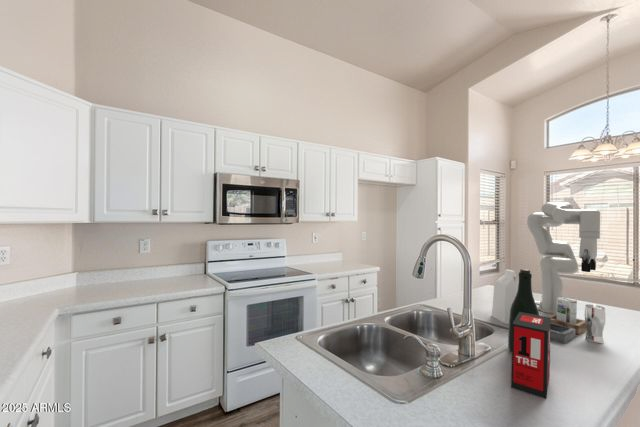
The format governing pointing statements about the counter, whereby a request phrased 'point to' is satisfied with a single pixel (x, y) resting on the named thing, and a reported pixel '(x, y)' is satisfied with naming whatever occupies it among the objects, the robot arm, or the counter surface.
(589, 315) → the beer glass
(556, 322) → the walnut holder
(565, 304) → the syrup box
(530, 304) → the dark green wine bottle
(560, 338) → the gray square frame
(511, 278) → the milk
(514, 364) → the cleaning product box
